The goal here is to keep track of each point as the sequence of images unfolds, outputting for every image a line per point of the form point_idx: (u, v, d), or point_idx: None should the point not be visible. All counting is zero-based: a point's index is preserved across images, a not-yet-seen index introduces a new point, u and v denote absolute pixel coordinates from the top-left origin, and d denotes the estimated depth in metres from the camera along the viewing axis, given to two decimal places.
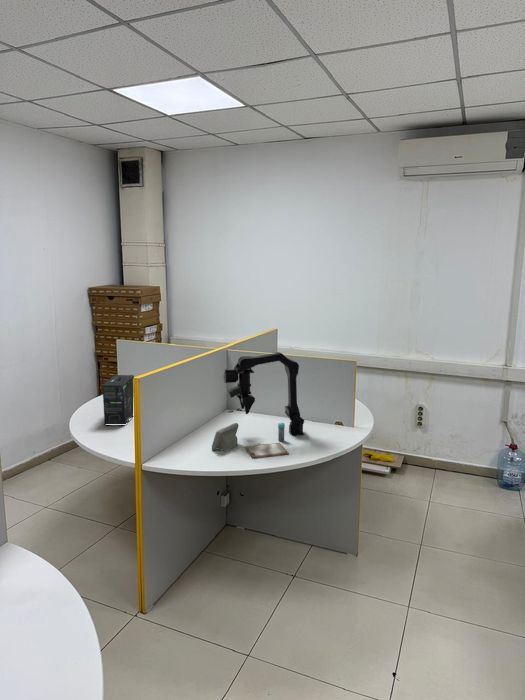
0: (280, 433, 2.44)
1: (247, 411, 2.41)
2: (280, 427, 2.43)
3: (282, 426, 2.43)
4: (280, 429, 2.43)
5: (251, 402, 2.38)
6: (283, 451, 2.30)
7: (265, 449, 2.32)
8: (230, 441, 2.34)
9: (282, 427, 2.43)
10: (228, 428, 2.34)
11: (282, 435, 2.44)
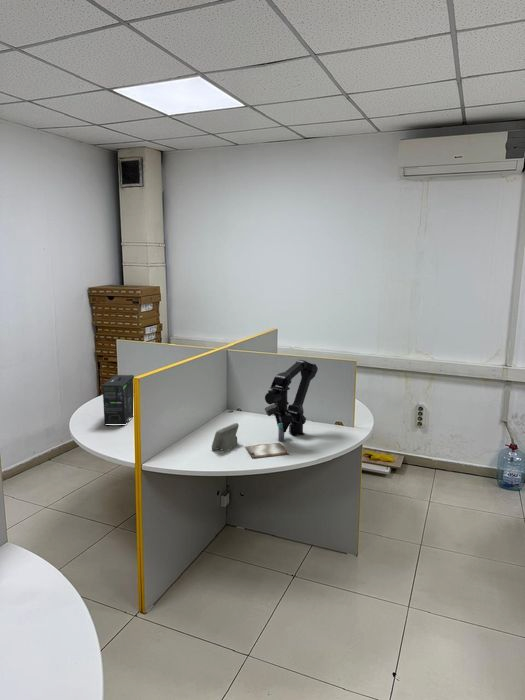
0: (280, 433, 2.44)
1: (285, 429, 2.40)
2: (280, 427, 2.43)
3: None
4: (280, 429, 2.43)
5: (289, 421, 2.36)
6: (283, 451, 2.30)
7: (265, 449, 2.32)
8: (229, 441, 2.34)
9: (282, 427, 2.43)
10: (228, 428, 2.35)
11: (282, 435, 2.44)
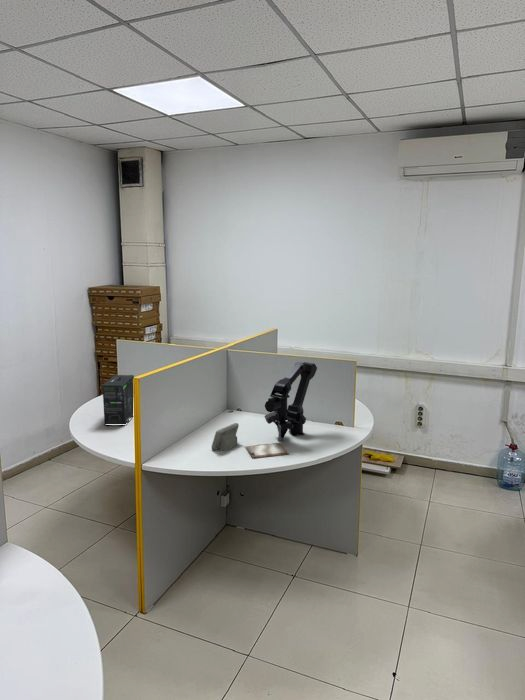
0: (280, 433, 2.44)
1: (283, 435, 2.43)
2: None
3: None
4: None
5: None
6: (283, 451, 2.30)
7: (265, 449, 2.32)
8: (229, 441, 2.34)
9: None
10: (228, 428, 2.35)
11: None
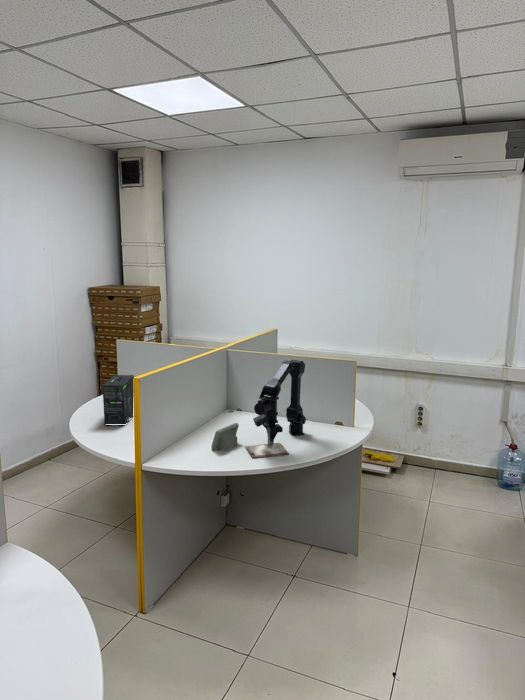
0: (269, 436, 2.34)
1: (272, 439, 2.33)
2: None
3: None
4: None
5: None
6: (283, 451, 2.30)
7: (265, 449, 2.32)
8: (229, 440, 2.34)
9: None
10: (228, 428, 2.35)
11: None
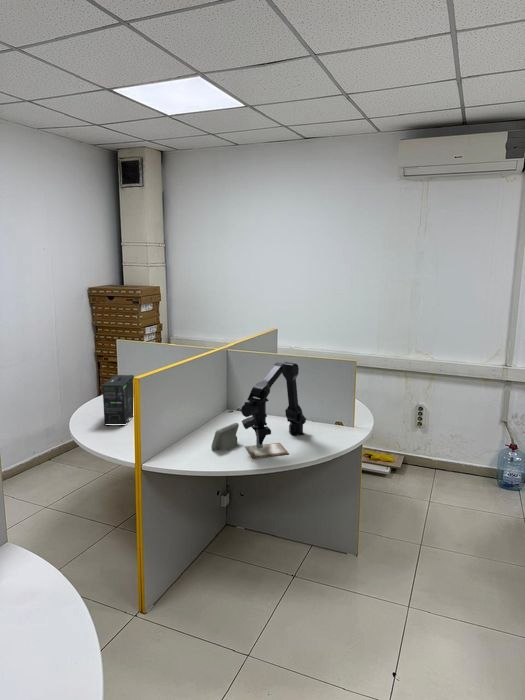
0: (258, 439, 2.30)
1: (261, 441, 2.30)
2: None
3: None
4: None
5: None
6: (283, 451, 2.30)
7: (265, 449, 2.32)
8: (229, 440, 2.35)
9: None
10: (228, 428, 2.35)
11: None
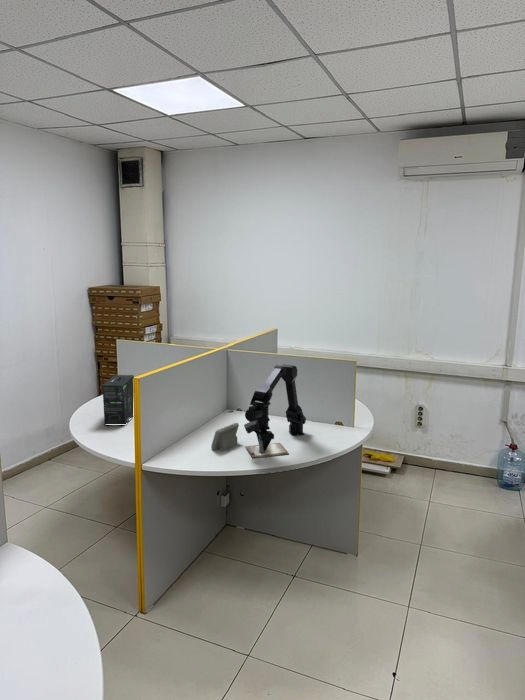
0: (261, 444, 2.27)
1: (265, 447, 2.24)
2: None
3: None
4: None
5: (269, 438, 2.20)
6: (283, 451, 2.30)
7: None
8: (229, 440, 2.35)
9: None
10: (228, 428, 2.35)
11: None
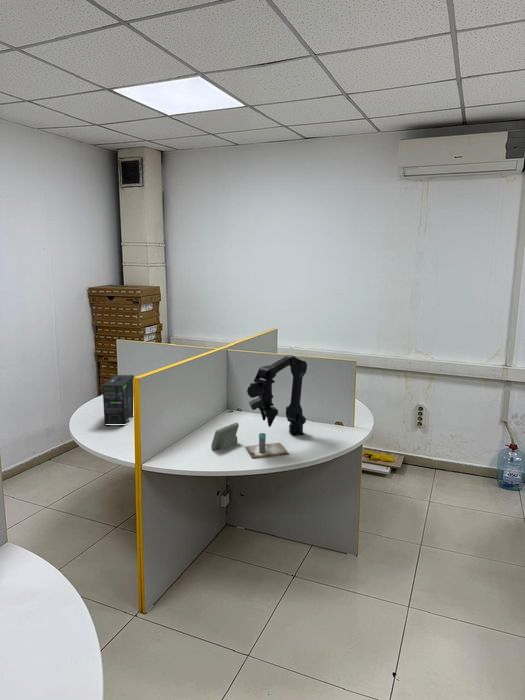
0: (261, 444, 2.27)
1: (270, 424, 2.32)
2: (261, 438, 2.26)
3: (263, 437, 2.26)
4: (261, 440, 2.26)
5: None
6: (283, 451, 2.30)
7: (265, 449, 2.32)
8: (229, 440, 2.35)
9: (263, 438, 2.26)
10: (228, 427, 2.35)
11: (263, 446, 2.27)
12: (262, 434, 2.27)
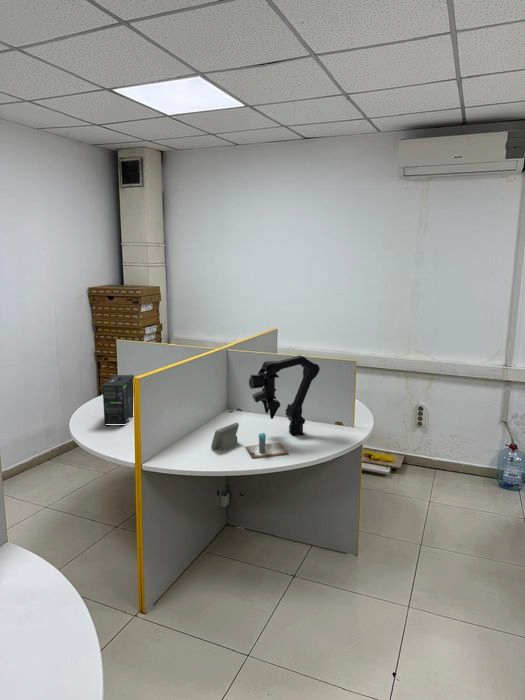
0: (261, 444, 2.27)
1: (272, 416, 2.42)
2: (261, 438, 2.26)
3: (263, 437, 2.26)
4: (261, 440, 2.26)
5: (276, 407, 2.39)
6: (283, 451, 2.30)
7: (265, 449, 2.32)
8: (229, 440, 2.35)
9: (263, 438, 2.26)
10: (228, 427, 2.35)
11: (263, 446, 2.27)
12: (262, 434, 2.27)
